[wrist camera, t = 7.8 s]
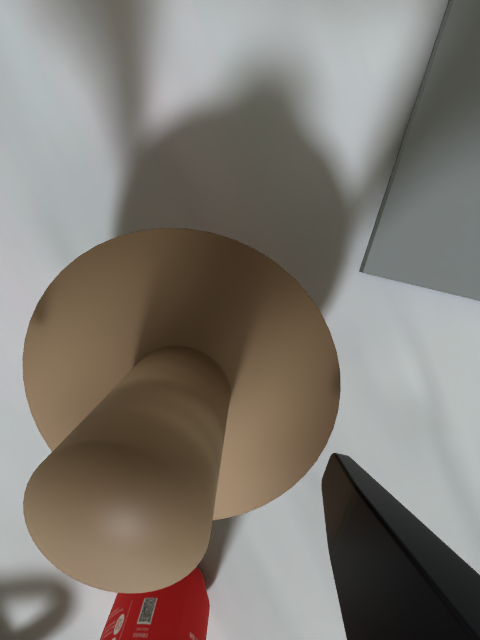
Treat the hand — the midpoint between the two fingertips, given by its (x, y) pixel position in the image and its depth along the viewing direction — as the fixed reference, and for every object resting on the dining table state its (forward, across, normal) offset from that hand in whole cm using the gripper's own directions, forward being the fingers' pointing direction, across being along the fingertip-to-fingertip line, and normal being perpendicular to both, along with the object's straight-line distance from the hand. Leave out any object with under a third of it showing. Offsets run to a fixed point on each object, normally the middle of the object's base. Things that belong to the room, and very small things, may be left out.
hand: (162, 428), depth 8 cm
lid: (+2, 0, 0) cm, 3 cm away
